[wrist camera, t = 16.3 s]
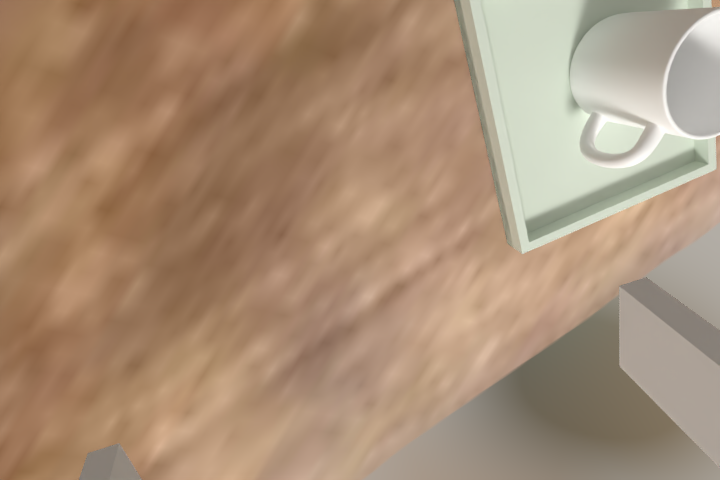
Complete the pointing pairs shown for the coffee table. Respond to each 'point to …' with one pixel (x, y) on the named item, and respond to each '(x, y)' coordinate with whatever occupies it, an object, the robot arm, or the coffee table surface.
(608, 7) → the sage tray
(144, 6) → the coffee table surface
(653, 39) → the cup
